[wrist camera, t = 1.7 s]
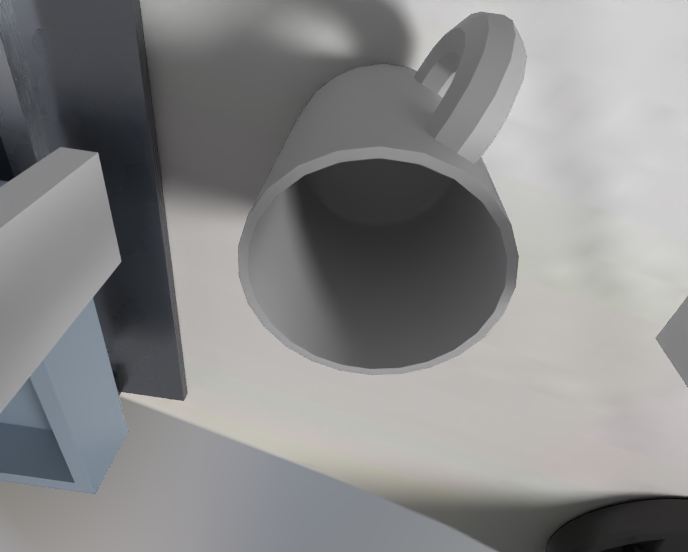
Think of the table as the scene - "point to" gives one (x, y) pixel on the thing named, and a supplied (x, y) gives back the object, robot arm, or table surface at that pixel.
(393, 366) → the cup
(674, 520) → the robot arm
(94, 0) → the track
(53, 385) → the cart
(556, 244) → the table surface
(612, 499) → the table surface
